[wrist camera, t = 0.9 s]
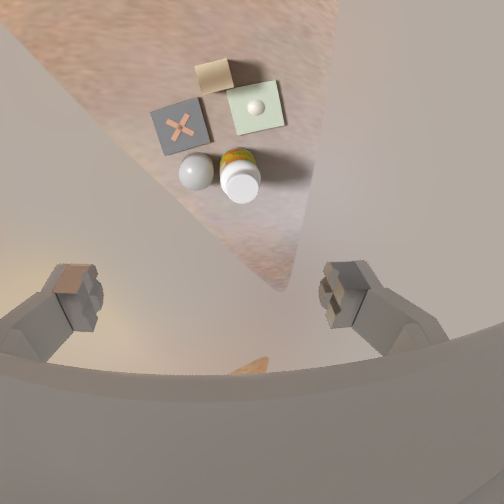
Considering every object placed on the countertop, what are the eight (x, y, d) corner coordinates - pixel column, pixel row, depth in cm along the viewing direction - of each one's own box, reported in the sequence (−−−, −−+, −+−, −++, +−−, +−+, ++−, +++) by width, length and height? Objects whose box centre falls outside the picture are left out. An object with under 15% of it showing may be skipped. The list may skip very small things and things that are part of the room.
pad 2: (225, 90, 35) (225, 90, 35) (274, 80, 35) (275, 80, 34) (237, 134, 39) (237, 135, 39) (283, 124, 39) (284, 125, 39)
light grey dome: (176, 157, 41) (174, 163, 38) (208, 148, 40) (208, 153, 38) (186, 186, 44) (185, 194, 41) (217, 177, 43) (217, 185, 41)
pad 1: (151, 112, 36) (150, 113, 35) (197, 97, 35) (197, 97, 35) (165, 154, 40) (164, 156, 39) (210, 141, 40) (210, 142, 39)
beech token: (197, 66, 33) (194, 66, 29) (225, 59, 33) (226, 58, 29) (204, 92, 35) (202, 95, 31) (232, 85, 35) (234, 87, 31)
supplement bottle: (259, 152, 42) (271, 175, 34) (248, 183, 44) (256, 213, 37) (225, 142, 40) (227, 163, 32) (215, 175, 43) (215, 203, 35)
